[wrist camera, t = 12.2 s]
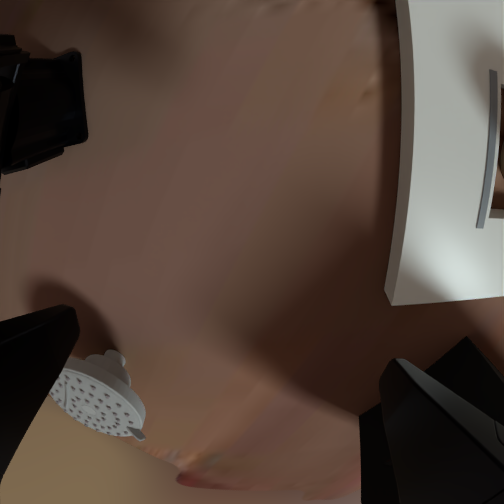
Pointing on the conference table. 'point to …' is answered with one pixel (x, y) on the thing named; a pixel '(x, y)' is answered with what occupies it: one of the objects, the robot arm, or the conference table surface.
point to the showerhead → (100, 395)
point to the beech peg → (502, 159)
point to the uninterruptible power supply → (456, 380)
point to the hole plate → (448, 153)
